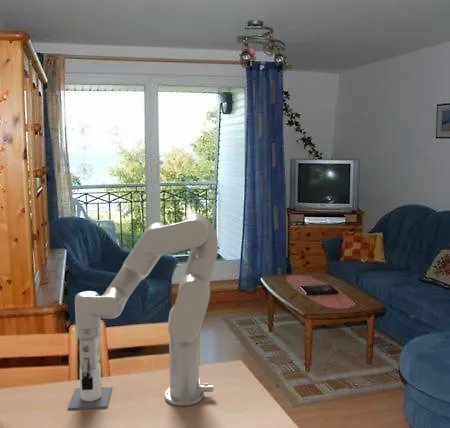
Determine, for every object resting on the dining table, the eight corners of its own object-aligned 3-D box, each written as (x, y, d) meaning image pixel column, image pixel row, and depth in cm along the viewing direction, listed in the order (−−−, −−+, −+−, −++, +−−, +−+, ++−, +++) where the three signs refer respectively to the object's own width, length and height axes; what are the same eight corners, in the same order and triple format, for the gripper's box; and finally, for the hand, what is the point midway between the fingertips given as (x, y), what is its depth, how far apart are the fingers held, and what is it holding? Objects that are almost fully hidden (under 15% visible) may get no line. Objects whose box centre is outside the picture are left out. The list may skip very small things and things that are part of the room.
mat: (112, 388, 163) (112, 386, 163) (107, 407, 151) (107, 406, 151) (75, 390, 162) (75, 388, 162) (67, 409, 150) (67, 407, 150)
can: (95, 403, 153) (94, 367, 151) (76, 401, 154) (75, 365, 152) (104, 393, 159) (103, 358, 157) (86, 390, 160) (85, 356, 158)
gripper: (96, 341, 145) (97, 395, 147) (104, 320, 162) (106, 368, 164) (70, 342, 144) (72, 396, 147) (81, 321, 161) (83, 369, 164)
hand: (90, 381), depth 156 cm, fingers open, 9 cm apart
